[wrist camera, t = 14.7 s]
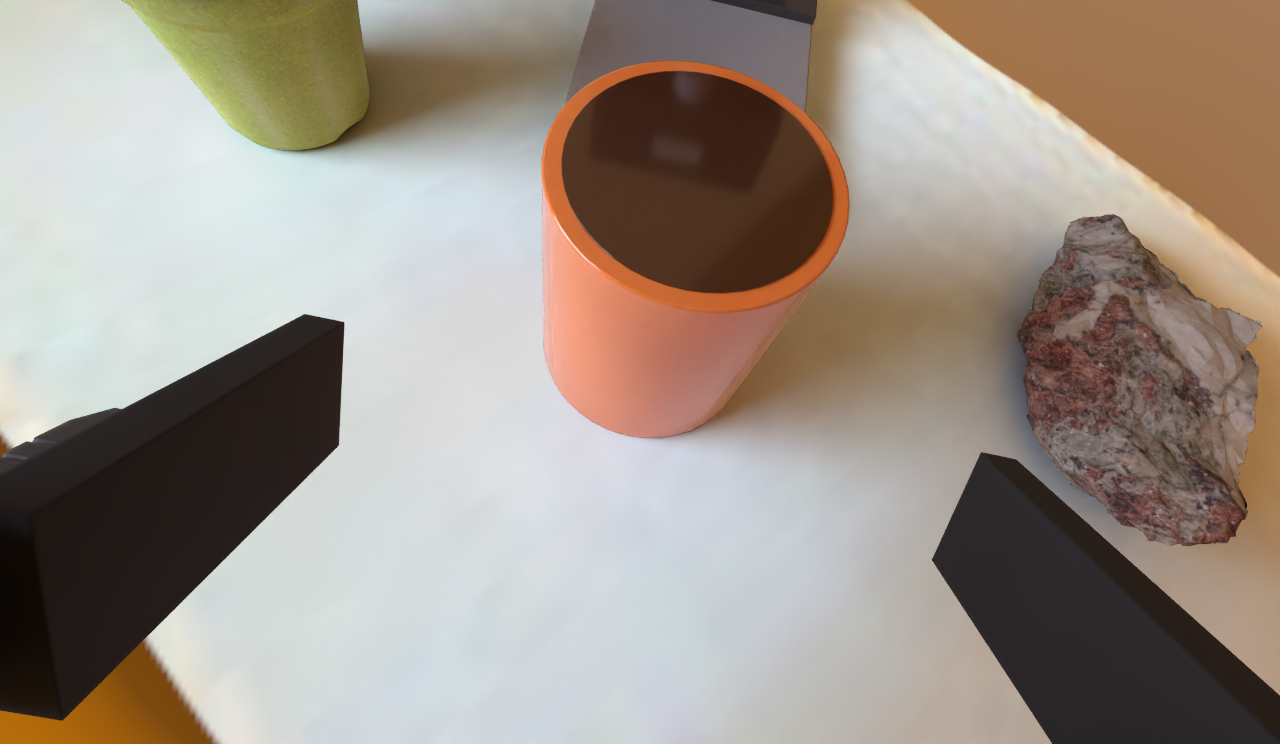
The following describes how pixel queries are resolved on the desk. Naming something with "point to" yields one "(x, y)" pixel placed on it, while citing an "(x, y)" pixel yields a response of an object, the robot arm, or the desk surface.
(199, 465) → the robot arm
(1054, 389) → the mineral rock
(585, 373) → the cup
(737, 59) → the coffee maker
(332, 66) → the plant pot
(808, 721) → the desk surface
